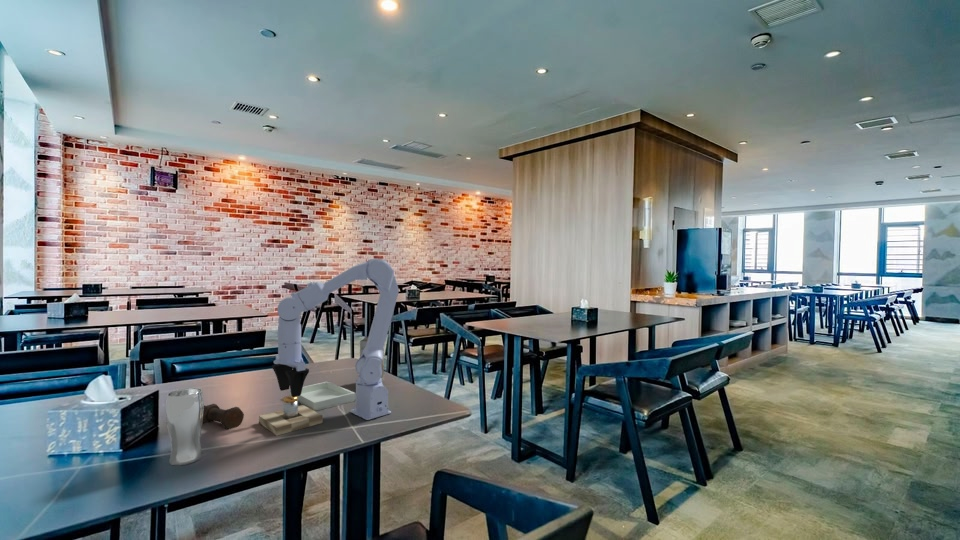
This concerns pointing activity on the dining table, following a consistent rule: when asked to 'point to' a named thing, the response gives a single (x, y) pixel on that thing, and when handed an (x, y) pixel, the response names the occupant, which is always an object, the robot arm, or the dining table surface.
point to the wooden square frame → (290, 420)
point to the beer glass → (185, 424)
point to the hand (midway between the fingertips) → (290, 392)
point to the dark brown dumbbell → (223, 416)
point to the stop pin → (290, 407)
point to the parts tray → (324, 396)
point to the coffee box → (362, 346)
